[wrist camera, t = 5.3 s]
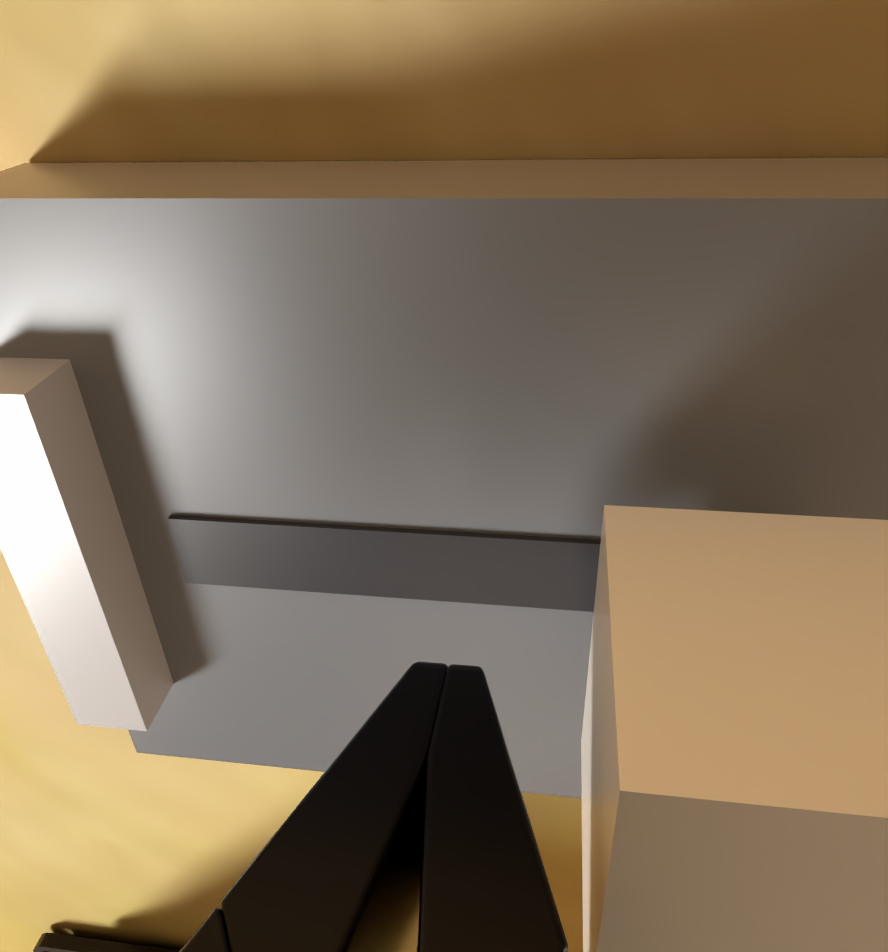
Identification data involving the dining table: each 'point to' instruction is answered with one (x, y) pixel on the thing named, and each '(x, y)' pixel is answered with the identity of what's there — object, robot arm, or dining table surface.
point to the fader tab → (736, 734)
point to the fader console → (407, 419)
